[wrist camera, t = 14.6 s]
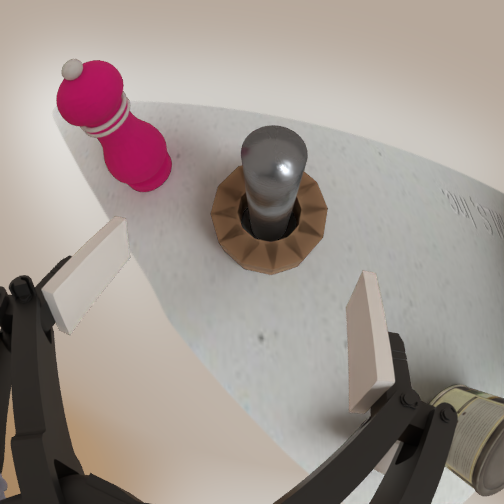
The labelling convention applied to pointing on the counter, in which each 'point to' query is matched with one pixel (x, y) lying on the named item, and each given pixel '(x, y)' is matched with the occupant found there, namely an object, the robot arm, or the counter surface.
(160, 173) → the pepper mill
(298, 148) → the metal cylinder peg
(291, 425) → the counter surface
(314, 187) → the bead
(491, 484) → the coffee can
